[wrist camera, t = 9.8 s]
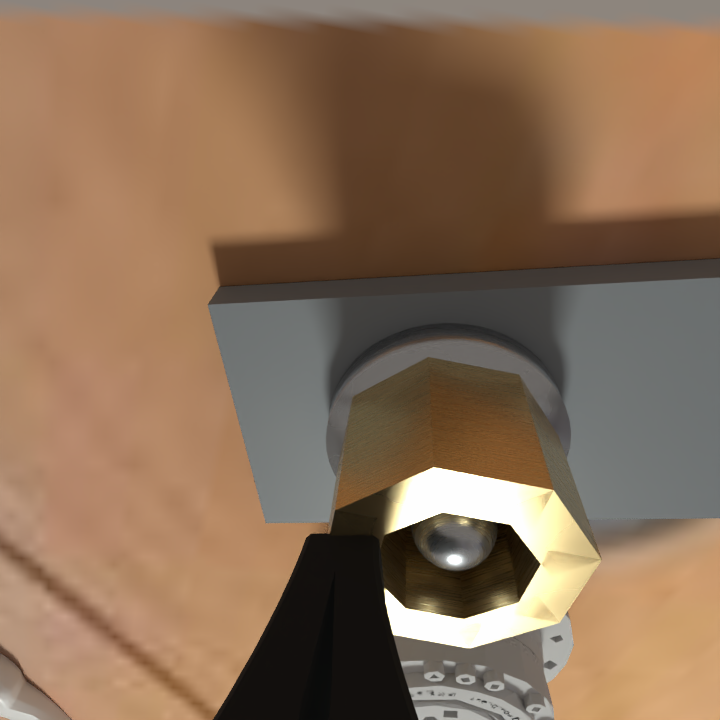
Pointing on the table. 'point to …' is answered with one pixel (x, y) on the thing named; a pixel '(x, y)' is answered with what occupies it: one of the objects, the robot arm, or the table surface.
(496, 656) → the mechanical component
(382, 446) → the collar
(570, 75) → the table surface
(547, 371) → the hub
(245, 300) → the base board
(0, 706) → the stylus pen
